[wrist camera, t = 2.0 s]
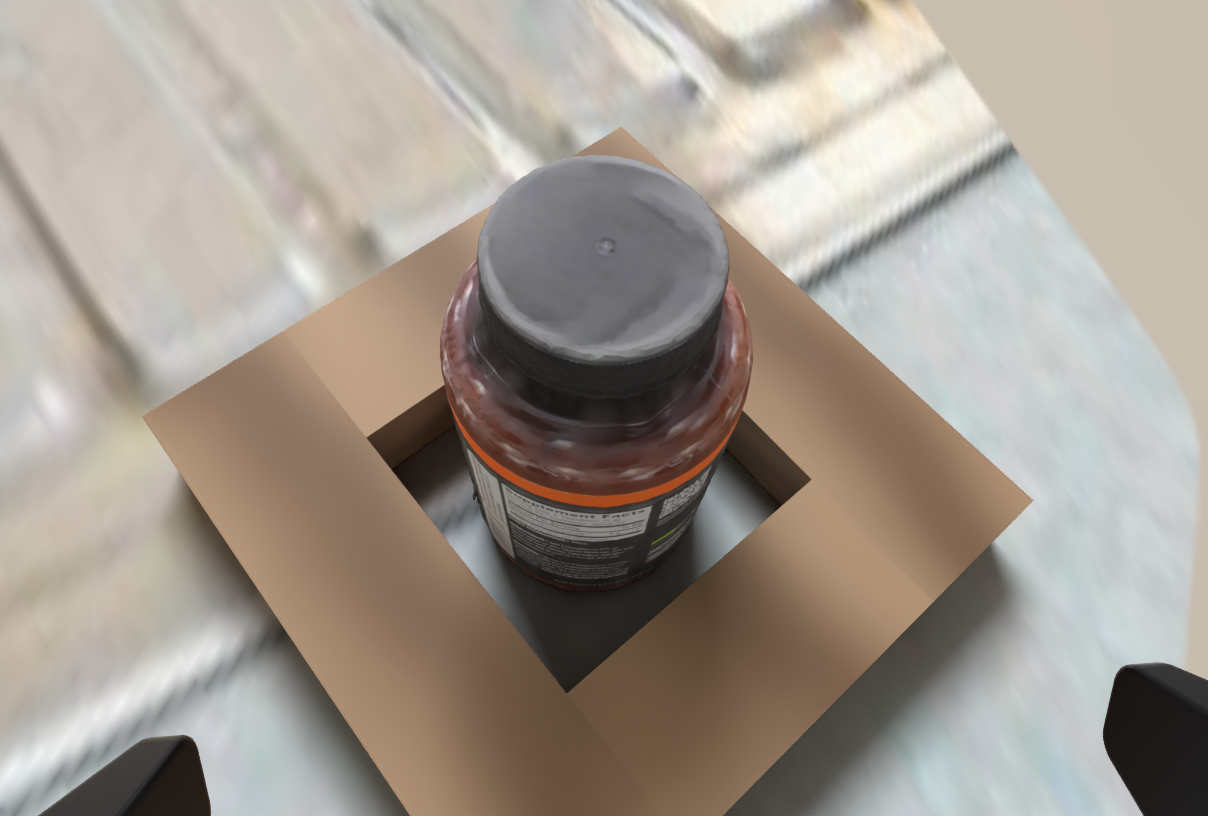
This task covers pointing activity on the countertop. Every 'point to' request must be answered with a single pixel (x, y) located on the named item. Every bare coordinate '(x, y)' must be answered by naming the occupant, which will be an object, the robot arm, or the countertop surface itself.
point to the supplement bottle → (595, 367)
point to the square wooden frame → (479, 627)
